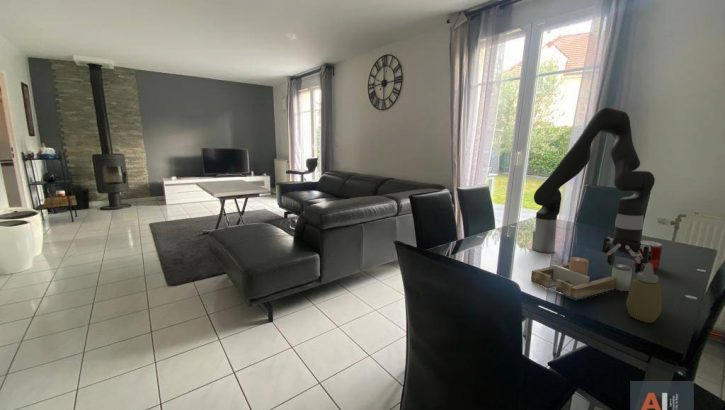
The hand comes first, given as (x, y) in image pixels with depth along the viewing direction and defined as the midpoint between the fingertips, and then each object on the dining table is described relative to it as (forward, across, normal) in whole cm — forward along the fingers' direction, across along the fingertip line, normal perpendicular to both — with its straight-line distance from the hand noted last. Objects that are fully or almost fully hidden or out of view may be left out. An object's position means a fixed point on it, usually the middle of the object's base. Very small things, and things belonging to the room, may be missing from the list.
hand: (623, 268), depth 111 cm
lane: (+8, +10, +14) cm, 19 cm away
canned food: (+8, +8, -32) cm, 34 cm away
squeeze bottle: (+8, -14, +16) cm, 23 cm away
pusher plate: (+8, +10, +21) cm, 24 cm away
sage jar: (+8, 0, 0) cm, 8 cm away
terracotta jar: (+8, +10, +11) cm, 16 cm away
